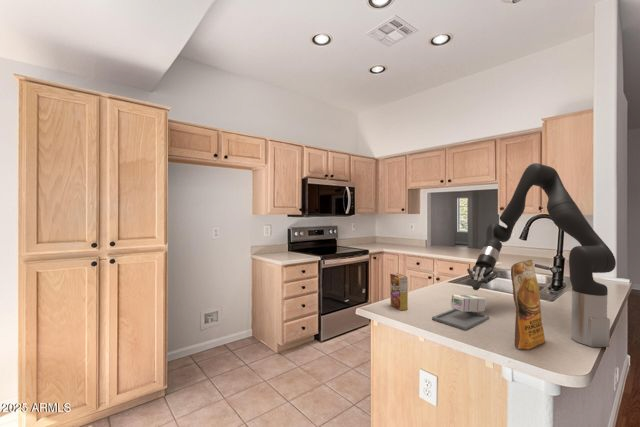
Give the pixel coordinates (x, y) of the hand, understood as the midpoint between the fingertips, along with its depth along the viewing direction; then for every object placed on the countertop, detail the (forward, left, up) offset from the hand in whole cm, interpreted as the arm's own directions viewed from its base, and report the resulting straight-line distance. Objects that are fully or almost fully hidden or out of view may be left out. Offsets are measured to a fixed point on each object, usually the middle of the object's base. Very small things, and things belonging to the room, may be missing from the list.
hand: (474, 289), depth 133 cm
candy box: (+7, +32, -11) cm, 34 cm away
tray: (-8, +9, -11) cm, 16 cm away
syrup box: (0, -2, -6) cm, 7 cm away
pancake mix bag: (-29, -4, -11) cm, 31 cm away
